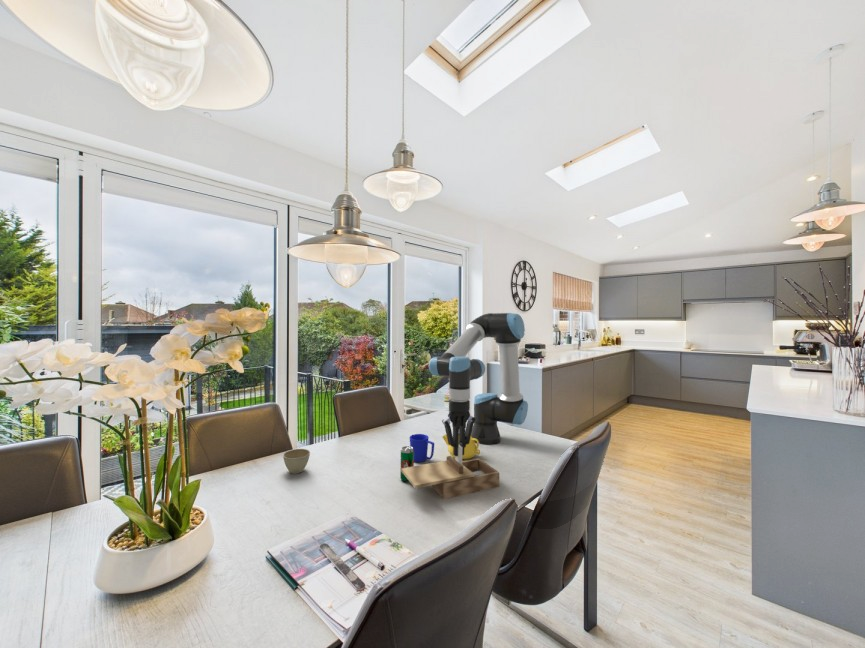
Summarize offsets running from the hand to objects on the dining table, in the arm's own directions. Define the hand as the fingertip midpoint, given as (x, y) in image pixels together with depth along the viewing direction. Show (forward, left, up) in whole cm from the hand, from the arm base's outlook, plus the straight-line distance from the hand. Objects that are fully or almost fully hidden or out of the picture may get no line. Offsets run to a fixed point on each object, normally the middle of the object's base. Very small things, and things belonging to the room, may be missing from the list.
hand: (458, 464), depth 128 cm
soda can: (+15, -13, -9) cm, 22 cm away
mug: (+3, -27, -9) cm, 29 cm away
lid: (+9, 0, -2) cm, 9 cm away
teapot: (-15, -25, -9) cm, 30 cm away
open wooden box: (-2, 0, -8) cm, 9 cm away
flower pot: (+53, -37, -9) cm, 65 cm away
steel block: (-8, 0, -8) cm, 11 cm away
